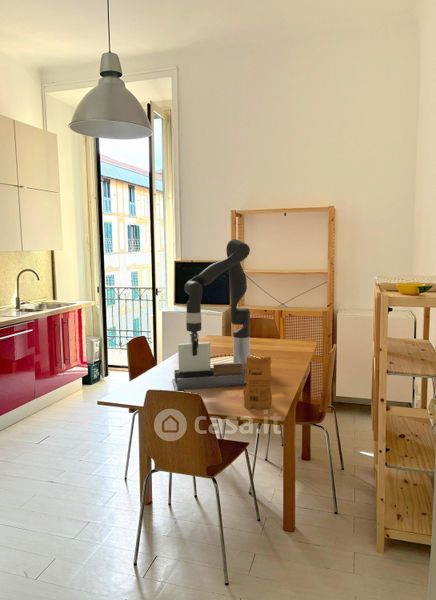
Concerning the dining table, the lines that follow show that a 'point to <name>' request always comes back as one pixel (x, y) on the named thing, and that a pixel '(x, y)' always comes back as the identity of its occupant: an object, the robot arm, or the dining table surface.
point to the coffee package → (257, 383)
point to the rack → (205, 380)
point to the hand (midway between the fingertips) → (194, 354)
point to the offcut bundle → (227, 369)
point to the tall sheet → (194, 357)
